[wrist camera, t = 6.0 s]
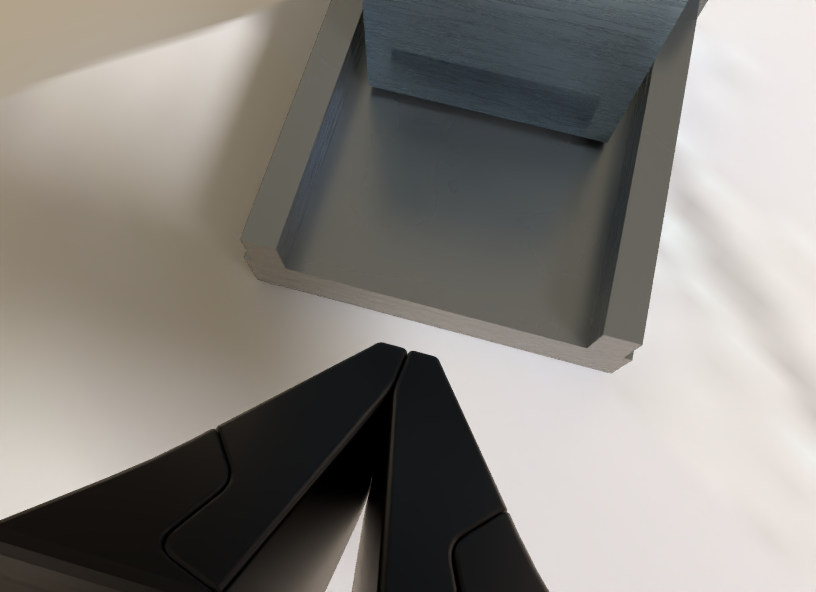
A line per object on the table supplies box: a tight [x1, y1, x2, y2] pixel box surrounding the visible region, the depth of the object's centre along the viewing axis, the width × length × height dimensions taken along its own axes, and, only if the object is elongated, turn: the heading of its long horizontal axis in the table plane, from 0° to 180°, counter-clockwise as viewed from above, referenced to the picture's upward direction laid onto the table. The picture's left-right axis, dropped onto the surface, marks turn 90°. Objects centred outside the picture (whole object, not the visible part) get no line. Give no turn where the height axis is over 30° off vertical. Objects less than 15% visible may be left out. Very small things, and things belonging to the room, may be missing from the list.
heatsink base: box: [240, 0, 708, 373], centre depth 15 cm, size 11×9×5 cm
